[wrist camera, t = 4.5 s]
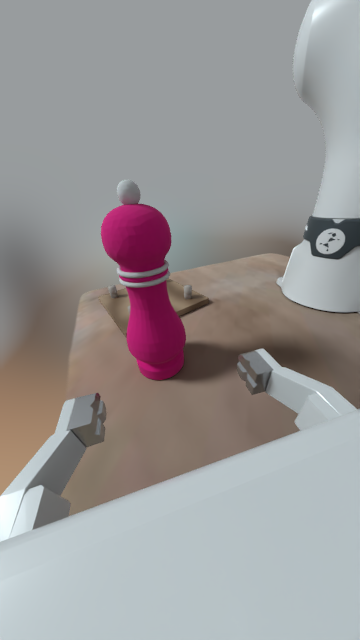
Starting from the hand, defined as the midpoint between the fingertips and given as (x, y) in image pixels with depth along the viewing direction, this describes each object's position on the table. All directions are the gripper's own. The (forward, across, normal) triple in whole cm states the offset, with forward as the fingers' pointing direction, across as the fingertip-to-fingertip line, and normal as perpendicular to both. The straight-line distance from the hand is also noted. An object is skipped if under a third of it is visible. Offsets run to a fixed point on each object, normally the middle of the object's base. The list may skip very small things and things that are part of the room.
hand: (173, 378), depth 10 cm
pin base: (+29, -1, +10) cm, 31 cm away
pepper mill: (+11, 0, +10) cm, 15 cm away
